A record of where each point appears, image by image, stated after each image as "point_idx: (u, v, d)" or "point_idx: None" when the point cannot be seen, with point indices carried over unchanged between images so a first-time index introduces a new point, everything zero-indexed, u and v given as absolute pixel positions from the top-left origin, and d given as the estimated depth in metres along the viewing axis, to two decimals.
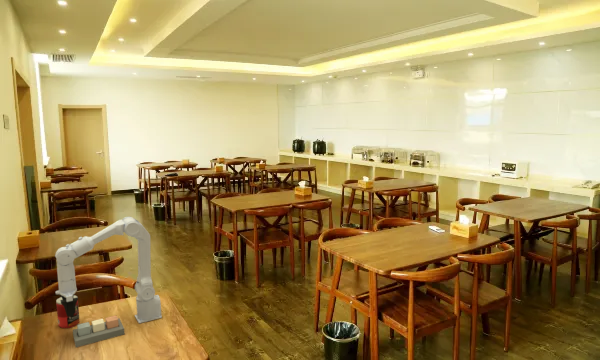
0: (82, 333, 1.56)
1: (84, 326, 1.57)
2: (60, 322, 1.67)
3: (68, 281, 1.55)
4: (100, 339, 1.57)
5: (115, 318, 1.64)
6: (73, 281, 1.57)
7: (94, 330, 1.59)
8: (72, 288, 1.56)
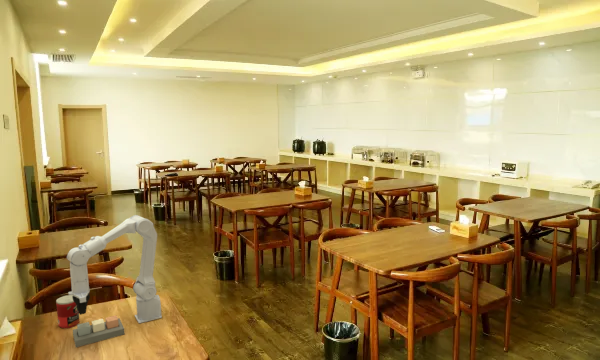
0: (82, 333, 1.56)
1: (84, 326, 1.57)
2: (60, 322, 1.67)
3: (81, 282, 1.53)
4: (100, 339, 1.57)
5: (115, 318, 1.64)
6: (86, 282, 1.55)
7: (94, 330, 1.59)
8: (86, 289, 1.55)
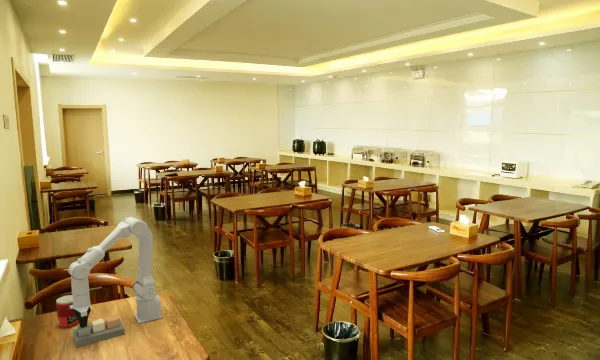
0: (82, 334, 1.56)
1: (84, 327, 1.57)
2: (60, 322, 1.67)
3: (82, 295, 1.54)
4: (100, 339, 1.57)
5: (115, 318, 1.64)
6: (87, 295, 1.56)
7: (94, 330, 1.59)
8: (87, 303, 1.56)
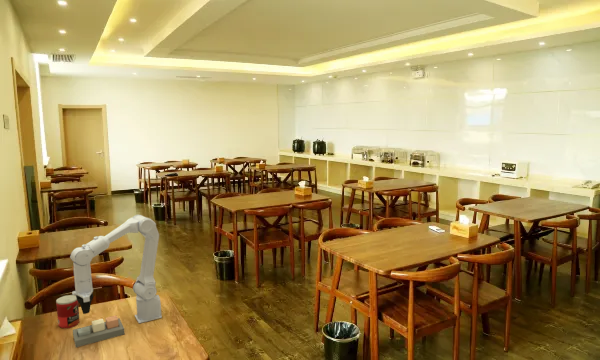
0: None
1: (84, 331, 1.58)
2: (60, 322, 1.67)
3: (84, 281, 1.54)
4: (100, 339, 1.57)
5: (115, 318, 1.64)
6: (90, 281, 1.56)
7: (94, 330, 1.59)
8: (89, 289, 1.56)
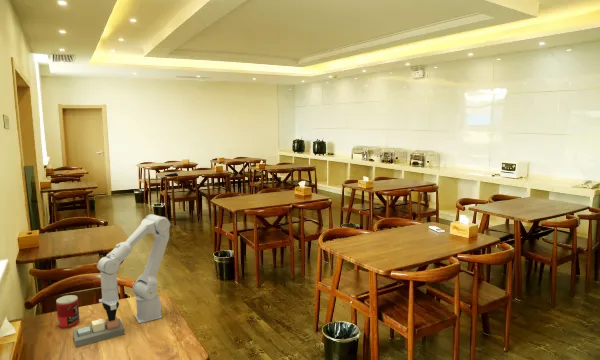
0: None
1: (84, 331, 1.58)
2: (60, 322, 1.67)
3: (111, 290, 1.60)
4: (100, 339, 1.57)
5: (115, 319, 1.64)
6: (116, 290, 1.61)
7: (94, 330, 1.59)
8: (115, 297, 1.61)
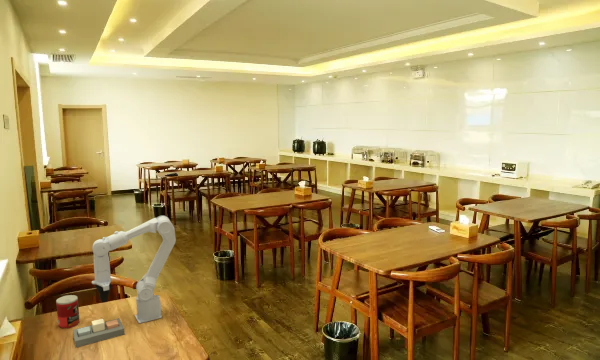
0: None
1: (84, 331, 1.58)
2: (60, 322, 1.67)
3: (104, 271, 1.64)
4: (100, 339, 1.57)
5: (115, 322, 1.64)
6: (108, 272, 1.65)
7: (94, 330, 1.59)
8: (108, 279, 1.65)
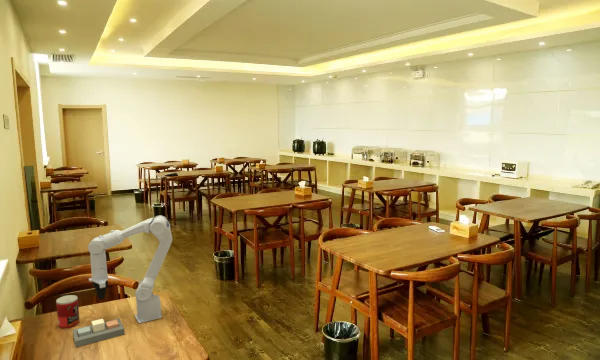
0: None
1: (84, 331, 1.58)
2: (60, 322, 1.67)
3: (100, 269, 1.66)
4: (100, 339, 1.57)
5: (115, 322, 1.64)
6: (105, 269, 1.68)
7: (94, 330, 1.59)
8: (104, 276, 1.68)
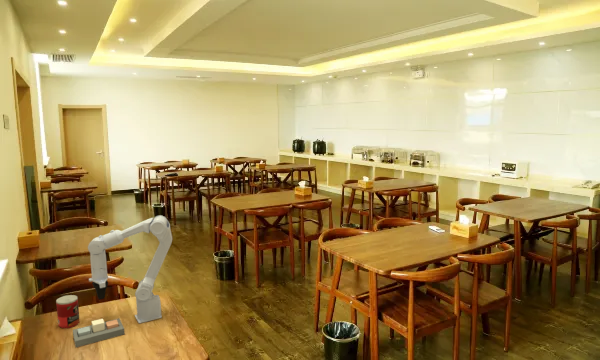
0: None
1: (84, 331, 1.58)
2: (60, 322, 1.67)
3: (100, 269, 1.66)
4: (100, 339, 1.57)
5: (115, 322, 1.64)
6: (105, 269, 1.68)
7: (94, 330, 1.59)
8: (104, 276, 1.68)
